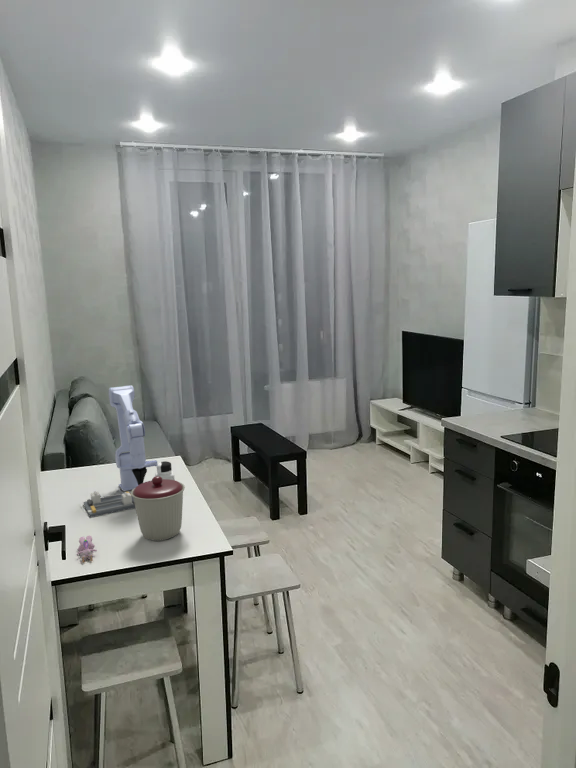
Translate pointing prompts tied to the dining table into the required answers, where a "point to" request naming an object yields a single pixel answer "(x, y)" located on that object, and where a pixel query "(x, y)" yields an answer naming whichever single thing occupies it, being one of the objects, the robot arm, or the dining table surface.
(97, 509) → the switch board
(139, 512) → the canister
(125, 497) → the tab
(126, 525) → the dining table surface
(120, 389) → the robot arm
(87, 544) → the rabbit figure
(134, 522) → the dining table surface
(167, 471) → the medicine bottle
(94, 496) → the tab
